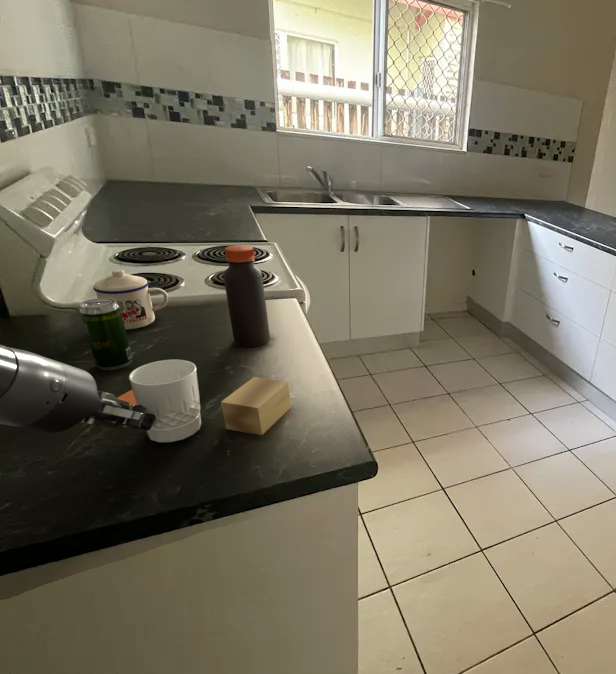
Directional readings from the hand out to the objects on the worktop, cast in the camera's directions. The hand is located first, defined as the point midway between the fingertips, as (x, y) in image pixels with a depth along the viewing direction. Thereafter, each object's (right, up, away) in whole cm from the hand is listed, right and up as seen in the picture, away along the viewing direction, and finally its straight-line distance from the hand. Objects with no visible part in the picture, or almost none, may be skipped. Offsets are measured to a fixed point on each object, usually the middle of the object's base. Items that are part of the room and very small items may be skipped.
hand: (148, 422), depth 66 cm
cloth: (-9, +2, +12) cm, 15 cm away
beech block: (+10, -1, +10) cm, 14 cm away
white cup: (0, -2, +6) cm, 6 cm away
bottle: (-4, +11, +34) cm, 36 cm away
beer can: (-22, +7, +21) cm, 31 cm away
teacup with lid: (-30, +15, +37) cm, 50 cm away
